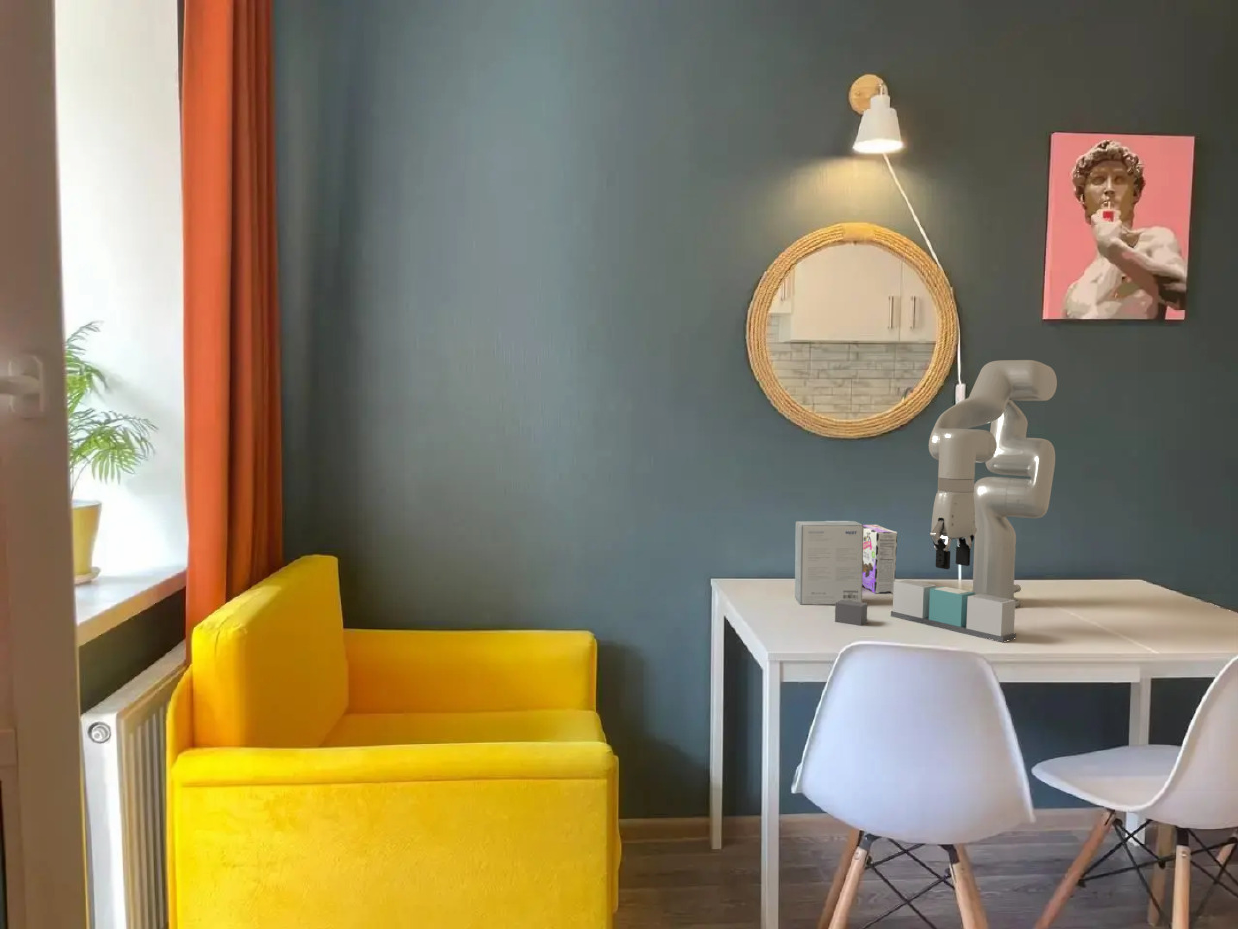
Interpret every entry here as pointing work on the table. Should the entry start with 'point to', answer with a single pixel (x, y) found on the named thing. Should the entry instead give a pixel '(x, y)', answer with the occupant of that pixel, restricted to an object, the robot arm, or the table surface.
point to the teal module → (949, 605)
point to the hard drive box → (828, 561)
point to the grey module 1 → (912, 598)
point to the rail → (953, 627)
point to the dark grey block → (851, 612)
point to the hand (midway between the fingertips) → (952, 566)
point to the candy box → (879, 558)
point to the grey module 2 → (990, 614)
